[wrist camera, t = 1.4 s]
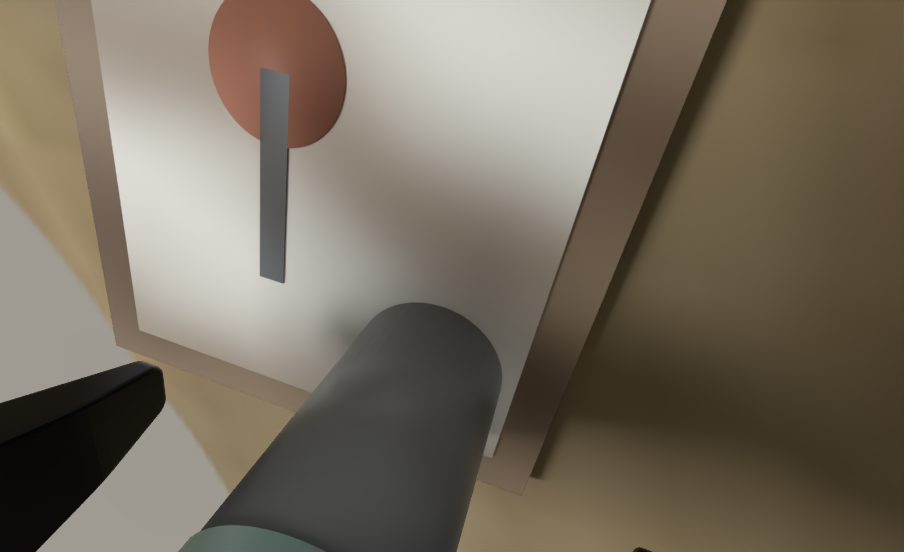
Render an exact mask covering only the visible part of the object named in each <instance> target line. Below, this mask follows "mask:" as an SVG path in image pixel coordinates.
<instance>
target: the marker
mask: <svg viewBox="0 0 904 552" xmlns="http://www.w3.org/2000/svg"><path fill="white" fill-rule="evenodd" d="M501 387H502V368H501V364H500V360H499V358H498V355H497V353H496V351H495V349H494V347H493V345H492V344H491V342H490V341H489V339H488V338H487V337H486V335H485V334H484V333H483V332H482V331H481V330H480V329H479V328H478V327H477V326H476V325H474V324H473V323H472V322H471V321H469V320H468V319H466V318H465V317H463V316H462V315H460V314H458V313H456V312H454V311H452V310H450V309H447V308H444V307H442V306H438V305H434V304H429V303H417V302H412V303H403V304H399V305H395V306H392V307H390V308H387V309H385V310H383V311H382V312H380V313H379V314H377V315H376V316H375V317H374V318H373V319H372V320H371V321H370V322H369V323H368V325H367V326H366V327H365V328H364V330H363V331H362V332H361V333H360V335H359V336H358V337H357V338H356V339H355V341H354V342H353V343H352V344H351V346H350V347H349V348H348V349H347V351H346V352H345V353H344V354H343V356H342V357H341V358H340V359H339V360H338V362H337V363H336V364H335V365H334V367H333V368H332V369H331V370H330V372H329V373H328V374H327V375H326V377H325V378H324V379H323V380H322V381H321V383H320V384H319V385H318V386H317V388H316V389H315V390H314V391H313V393H312V394H311V395H310V396H309V397H308V399H307V400H306V401H305V402H304V404H303V405H302V406H301V407H300V409H299V410H298V411H297V412H296V414H295V415H294V416H293V417H292V418H291V420H290V421H289V422H288V423H287V425H286V426H285V427H284V428H283V430H282V431H281V432H280V433H279V435H278V436H277V437H276V438H275V439H274V441H273V442H272V443H271V444H270V446H269V447H268V448H267V449H266V451H265V452H264V453H263V454H262V456H261V457H260V458H259V459H258V460H257V462H256V463H255V464H254V465H253V467H252V468H251V469H250V470H249V472H248V473H247V474H246V475H245V477H244V478H243V479H242V480H241V481H240V483H239V484H238V485H237V486H236V488H235V489H234V490H233V491H232V493H231V494H230V495H229V496H228V497H227V499H226V500H225V501H224V502H223V504H222V505H221V506H220V507H219V509H218V510H217V511H216V512H215V514H214V515H213V516H212V517H211V519H210V520H209V521H208V522H207V524H206V525H205V526H204V527H203V528H202V530H201V531H200V532H198V533H196V534H195V535H194V536H192V537H191V538H190V539H189V540H188V541H187V542H186V543H185V544H184V546H183V547H182V548H181V549H180V550H179V552H456V551H457V548H458V544H459V540H460V537H461V533H462V529H463V526H464V522H465V519H466V515H467V511H468V508H469V504H470V500H471V497H472V493H473V489H474V486H475V482H476V479H477V475H478V471H479V468H480V464H481V460H482V457H483V453H484V449H485V446H486V442H487V439H488V435H489V431H490V428H491V424H492V420H493V417H494V413H495V409H496V406H497V402H498V399H499V395H500V391H501Z"/></svg>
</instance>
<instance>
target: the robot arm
mask: <svg viewBox="0 0 904 552" xmlns="http://www.w3.org/2000/svg"><path fill="white" fill-rule="evenodd" d="M165 401H166V395H165V387H164V378H163V372H162V370H161V369H160V368H159V367H158V366H155V365H152V364H150V363H147V362H143V361H137V362H133V363H130V364H126V365H123V366H120V367H117V368H113V369H110V370H107V371H104V372H100V373H97V374H94V375H91V376H87V377H84V378H81V379H78V380H74V381H71V382H68V383H65V384H61V385H58V386H55V387H51V388H48V389H45V390H42V391H38V392H35V393H32V394H29V395H25V396H22V397H19V398H15V399H12V400H9V401H6V402H3V403H0V552H36V551H37V550H38V549H39V548H40V547H41V546H42V545H43V544H44V543H45V542H46V541H47V540H48V539H49V537H50V536H51V535H52V534H53V533H54V532H55V531H56V530H57V529H58V528H59V527H60V526H61V525H62V524H63V523H64V522H65V521H66V520H67V519H68V518H69V517H70V516H71V515H72V514H73V513H74V512H75V511H76V510H77V509H78V508H79V507H80V506H81V504H83V502H84V501H85V500H86V499H87V498H88V497H89V496H90V495H91V494H92V493H93V492H94V491H95V490H96V489H97V488H98V487H99V486H100V485H101V483H102V482H103V481H104V480H105V479H106V478H107V477H108V475H109V474H110V473H111V472H112V471H113V470H114V469H115V467H116V466H117V465H118V464H119V462H120V461H121V460H122V459H123V457H124V456H125V455H126V454H127V453H128V451H129V450H130V449H131V448H132V446H133V445H134V444H135V443H136V441H137V440H138V439H139V438H140V437H141V435H142V434H143V433H144V431H145V430H146V429H147V428H148V427H149V425H150V424H151V423H152V422H153V420H154V419H155V418H156V417H157V415H158V414H159V413H160V412H161V410H162V408H163V407H164V404H165ZM633 552H652V551H649V550H646V549H644V548H640V547H638V548H636V549H634V551H633Z"/></svg>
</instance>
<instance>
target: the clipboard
mask: <svg viewBox="0 0 904 552" xmlns="http://www.w3.org/2000/svg"><path fill="white" fill-rule="evenodd" d="M726 1H727V0H55V4H56V9H57V15H58V20H59V26H60V32H61V37H62V43H63V48H64V54H65V60H66V65H67V71H68V77H69V82H70V88H71V93H72V99H73V105H74V110H75V116H76V121H77V127H78V133H79V138H80V144H81V150H82V155H83V161H84V166H85V172H86V178H87V183H88V189H89V194H90V200H91V206H92V211H93V217H94V222H95V228H96V234H97V239H98V245H99V251H100V256H101V262H102V267H103V273H104V279H105V284H106V290H107V295H108V301H109V307H110V312H111V318H112V323H113V329H114V335H115V340H116V345H117V346H120V347H122V348H125V349H128V350H130V351H133V352H136V353H138V354H141V355H144V356H146V357H149V358H152V359H154V360H157V361H160V362H163V363H165V364H168V365H171V366H173V367H176V368H179V369H181V370H184V371H187V372H189V373H192V374H195V375H197V376H200V377H203V378H206V379H208V380H211V381H214V382H216V383H219V384H222V385H224V386H227V387H230V388H232V389H235V390H238V391H240V392H243V393H246V394H249V395H251V396H254V397H257V398H259V399H262V400H265V401H267V402H270V403H273V404H275V405H278V406H281V407H283V408H286V409H289V410H292V411H294V412H297V411H298V410H299V409H300V407H301V406H302V405H303V404H304V402H305V401H306V400H307V399H308V397H309V396H310V395H311V394H312V393H313V391H314V390H315V389H316V388H317V386H318V385H319V384H320V383H321V381H322V380H323V379H324V378H325V377H326V375H327V374H328V373H329V372H330V370H331V369H332V368H333V367H334V365H335V364H336V363H337V362H338V360H339V359H340V358H341V357H342V356H343V354H344V353H345V352H346V351H347V349H348V348H349V347H350V346H351V344H352V343H353V342H354V341H355V339H356V338H357V337H358V336H359V335H360V333H361V332H362V331H363V330H364V328H365V327H366V326H367V325H368V323H369V322H370V321H371V320H372V319H373V318H374V317H375V316H376V315H377V314H379V313H380V312H382V311H383V310H385V309H387V308H390V307H392V306H395V305H399V304H403V303H412V302H417V303H429V304H434V305H438V306H442V307H444V308H447V309H450V310H452V311H454V312H456V313H458V314H460V315H462V316H463V317H465V318H466V319H468V320H469V321H471V322H472V323H473V324H474V325H476V326H477V327H478V328H479V329H480V330H481V331H482V332H483V333H484V334H485V335H486V337H487V338H488V339H489V341H490V342H491V344H492V345H493V347H494V349H495V351H496V353H497V355H498V358H499V360H500V364H501V368H502V387H501V391H500V395H499V399H498V402H497V406H496V409H495V413H494V417H493V420H492V424H491V428H490V431H489V435H488V439H487V442H486V446H485V449H484V453H483V457H482V460H481V464H480V468H479V471H478V475H477V480H480V481H482V482H485V483H488V484H491V485H493V486H496V487H499V488H501V489H504V490H507V491H509V492H512V493H515V494H517V495H520V496H522V494H523V491H524V489H525V486H526V484H527V482H528V479H529V477H530V474H531V472H532V469H533V467H534V465H535V462H536V460H537V457H538V455H539V453H540V450H541V448H542V445H543V443H544V441H545V438H546V436H547V433H548V431H549V428H550V426H551V424H552V421H553V419H554V416H555V414H556V412H557V409H558V407H559V404H560V402H561V399H562V397H563V395H564V392H565V390H566V387H567V385H568V383H569V380H570V378H571V375H572V373H573V371H574V368H575V366H576V363H577V361H578V358H579V356H580V354H581V351H582V349H583V346H584V344H585V342H586V339H587V337H588V334H589V332H590V329H591V327H592V325H593V322H594V320H595V317H596V315H597V313H598V310H599V308H600V305H601V303H602V301H603V298H604V296H605V293H606V291H607V288H608V286H609V284H610V281H611V279H612V276H613V274H614V272H615V269H616V267H617V264H618V262H619V259H620V257H621V255H622V252H623V250H624V247H625V245H626V243H627V240H628V238H629V235H630V233H631V231H632V228H633V226H634V223H635V221H636V218H637V216H638V214H639V211H640V209H641V206H642V204H643V202H644V199H645V197H646V194H647V192H648V189H649V187H650V185H651V182H652V180H653V177H654V175H655V173H656V170H657V168H658V165H659V163H660V161H661V158H662V156H663V153H664V151H665V148H666V146H667V144H668V141H669V139H670V136H671V134H672V132H673V129H674V127H675V124H676V122H677V120H678V117H679V115H680V112H681V110H682V107H683V105H684V103H685V100H686V98H687V95H688V93H689V91H690V88H691V86H692V83H693V81H694V78H695V76H696V74H697V71H698V69H699V66H700V64H701V62H702V59H703V57H704V54H705V52H706V50H707V47H708V45H709V42H710V40H711V37H712V35H713V33H714V30H715V28H716V25H717V23H718V21H719V18H720V16H721V13H722V11H723V8H724V6H725V4H726Z"/></svg>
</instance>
